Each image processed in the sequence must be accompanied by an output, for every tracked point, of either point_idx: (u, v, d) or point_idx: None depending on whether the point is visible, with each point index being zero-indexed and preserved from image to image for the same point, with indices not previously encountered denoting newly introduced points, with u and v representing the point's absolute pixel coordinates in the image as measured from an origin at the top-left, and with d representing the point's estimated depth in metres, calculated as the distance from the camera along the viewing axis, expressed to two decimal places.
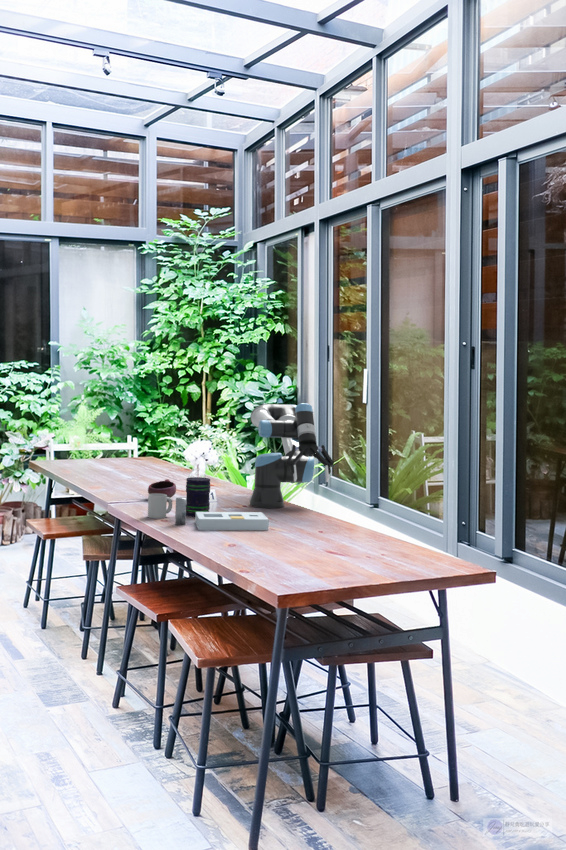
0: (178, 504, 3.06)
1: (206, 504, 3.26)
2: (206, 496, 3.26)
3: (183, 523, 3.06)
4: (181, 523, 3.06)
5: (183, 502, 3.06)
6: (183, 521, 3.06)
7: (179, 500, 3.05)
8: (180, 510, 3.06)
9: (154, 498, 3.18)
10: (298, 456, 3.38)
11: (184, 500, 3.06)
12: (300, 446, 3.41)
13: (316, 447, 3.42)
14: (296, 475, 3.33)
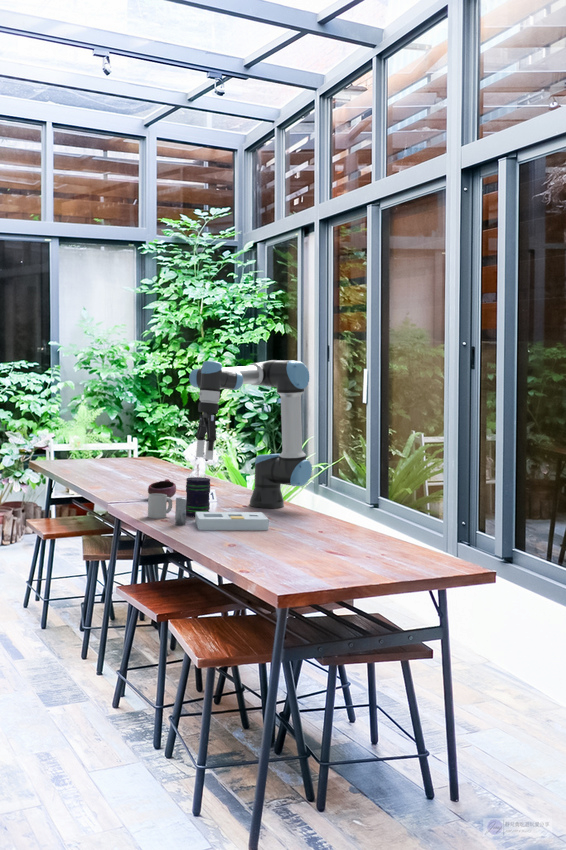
0: (178, 504, 3.06)
1: (206, 504, 3.26)
2: (206, 496, 3.26)
3: (183, 523, 3.06)
4: (181, 523, 3.06)
5: (183, 502, 3.06)
6: (183, 521, 3.06)
7: (179, 500, 3.05)
8: (180, 510, 3.06)
9: (154, 498, 3.18)
10: (200, 429, 3.11)
11: (184, 500, 3.06)
12: (202, 416, 3.09)
13: (207, 418, 3.03)
14: (196, 453, 3.12)
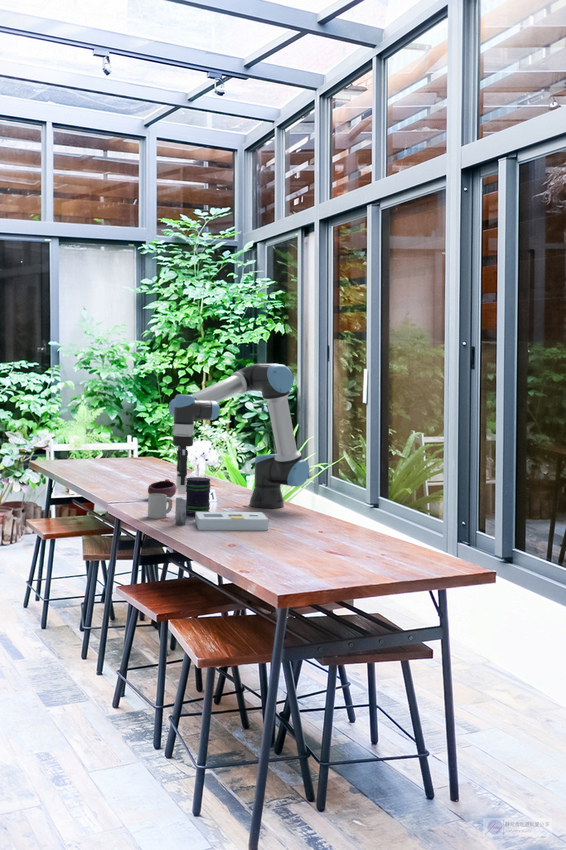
0: (178, 504, 3.06)
1: (206, 504, 3.26)
2: (206, 496, 3.26)
3: (183, 523, 3.06)
4: (181, 523, 3.06)
5: (183, 502, 3.06)
6: (183, 521, 3.06)
7: (179, 500, 3.05)
8: (180, 510, 3.06)
9: (154, 498, 3.18)
10: (178, 462, 3.11)
11: (184, 500, 3.06)
12: None
13: (180, 452, 3.03)
14: (176, 485, 3.13)
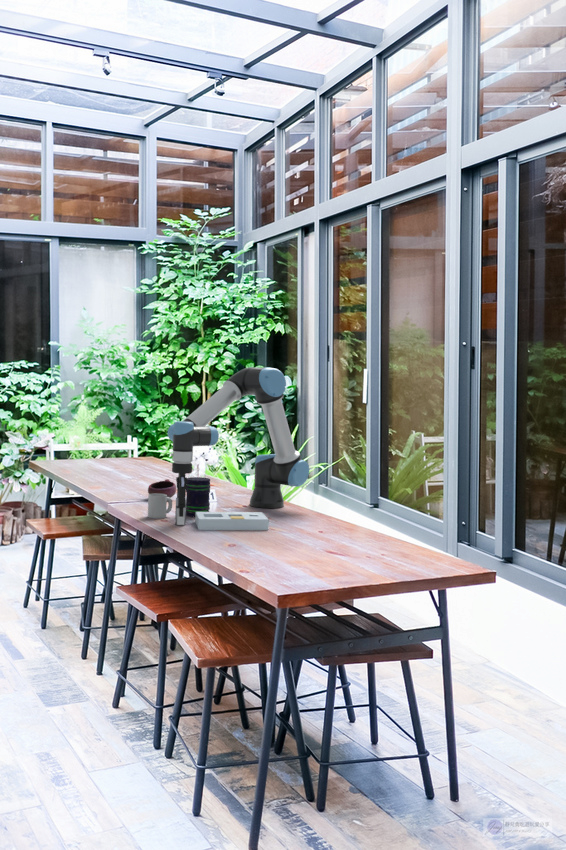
0: None
1: (206, 504, 3.26)
2: (206, 496, 3.26)
3: None
4: None
5: None
6: None
7: None
8: None
9: (154, 498, 3.18)
10: None
11: None
12: (178, 476, 3.10)
13: None
14: None
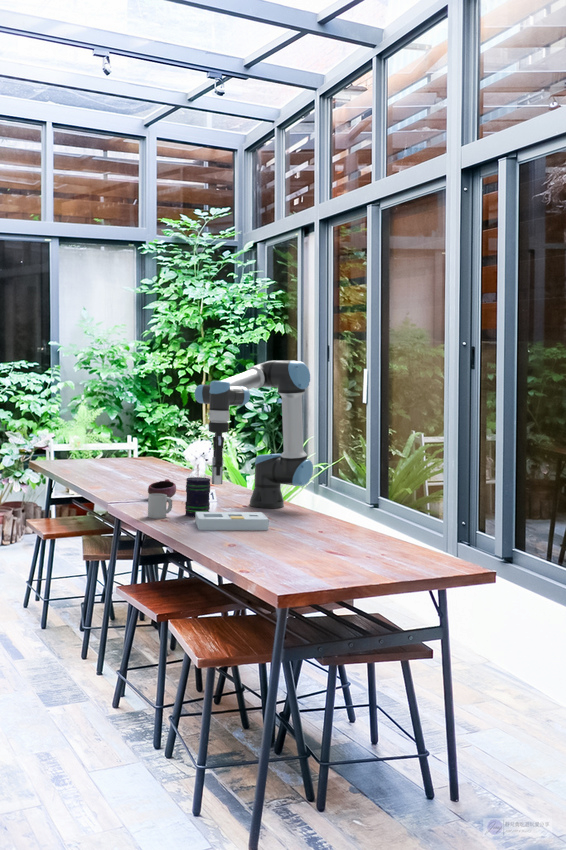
0: None
1: (206, 504, 3.26)
2: (206, 496, 3.26)
3: None
4: None
5: None
6: None
7: None
8: None
9: (154, 498, 3.18)
10: (214, 452, 3.09)
11: None
12: None
13: (216, 438, 3.03)
14: None
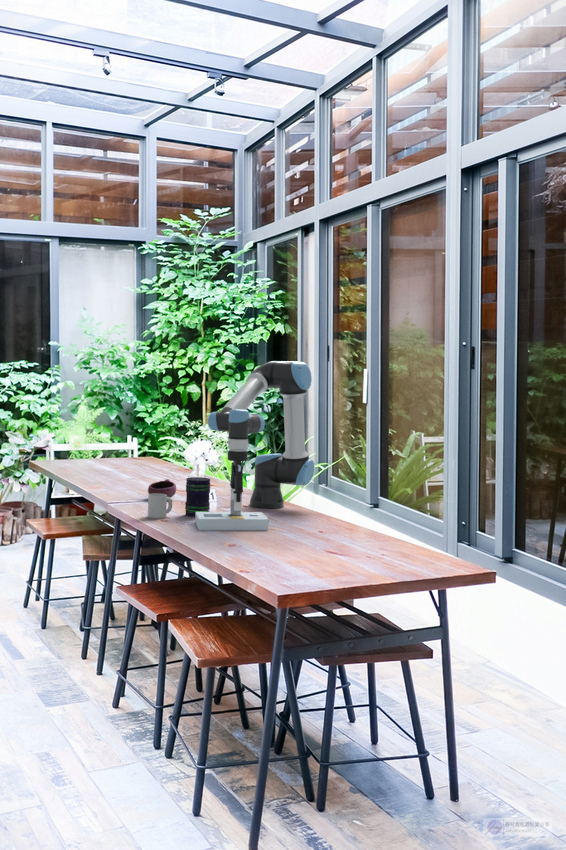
0: None
1: (206, 504, 3.26)
2: (206, 496, 3.26)
3: None
4: None
5: None
6: None
7: None
8: (235, 512, 3.07)
9: (154, 498, 3.18)
10: (232, 477, 3.12)
11: None
12: (233, 464, 3.11)
13: (235, 466, 3.04)
14: (230, 502, 3.13)
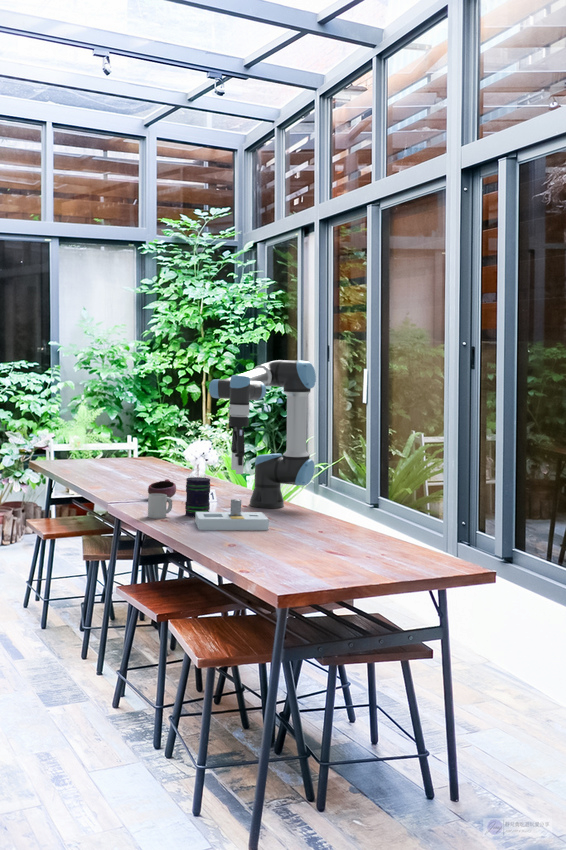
0: (234, 506, 3.06)
1: (206, 504, 3.26)
2: (206, 496, 3.26)
3: None
4: None
5: (238, 504, 3.07)
6: None
7: (234, 502, 3.06)
8: (235, 512, 3.07)
9: (154, 498, 3.18)
10: (233, 442, 3.12)
11: (239, 502, 3.07)
12: (234, 430, 3.10)
13: (236, 432, 3.03)
14: (231, 466, 3.14)
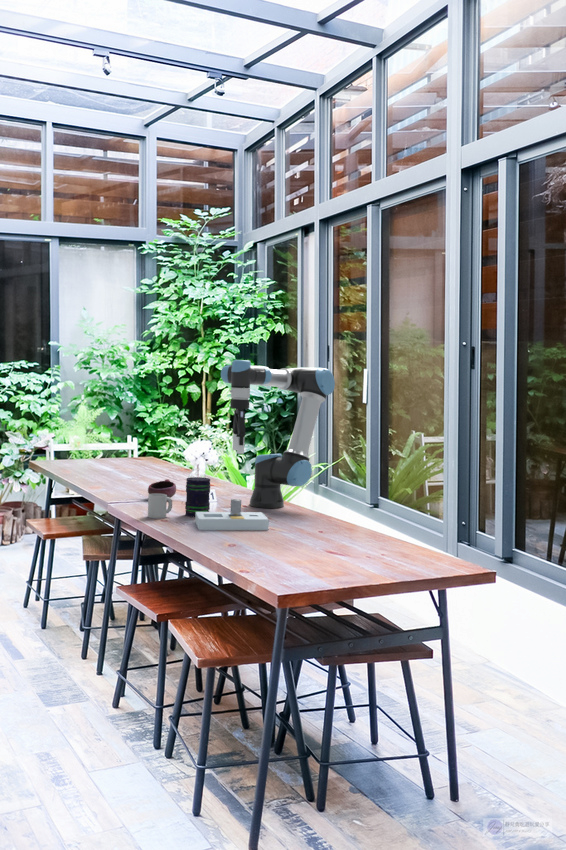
0: (234, 506, 3.06)
1: (206, 504, 3.26)
2: (206, 496, 3.26)
3: None
4: None
5: (238, 504, 3.07)
6: None
7: (234, 502, 3.06)
8: (235, 512, 3.07)
9: (154, 498, 3.18)
10: (234, 424, 3.28)
11: (239, 502, 3.07)
12: None
13: (237, 414, 3.20)
14: (233, 446, 3.31)
